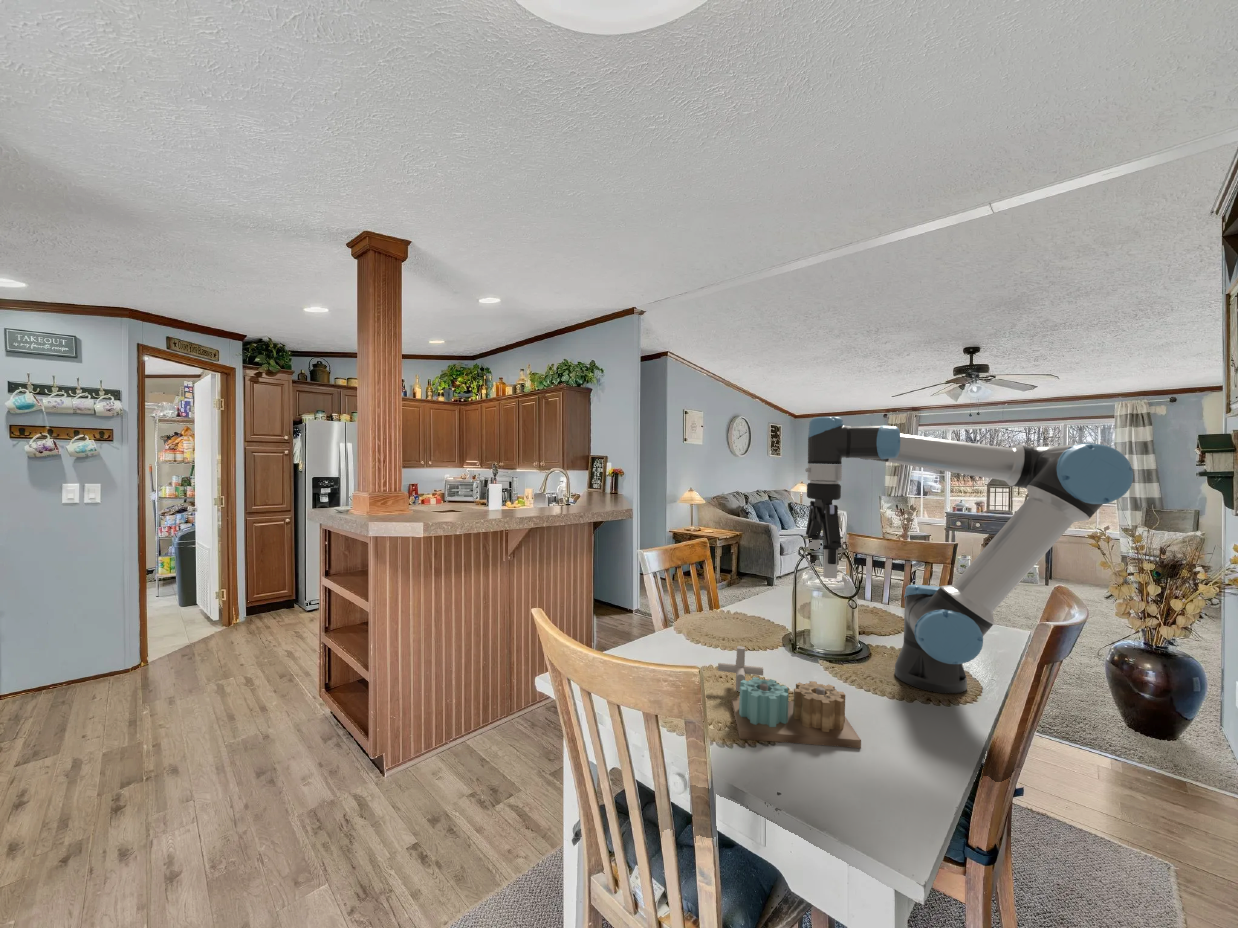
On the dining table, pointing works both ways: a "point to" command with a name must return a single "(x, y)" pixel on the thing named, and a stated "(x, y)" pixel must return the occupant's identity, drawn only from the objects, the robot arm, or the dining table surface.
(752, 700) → the teal gear
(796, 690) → the oak gear
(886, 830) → the dining table surface
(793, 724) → the gear board
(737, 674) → the pipe connector
